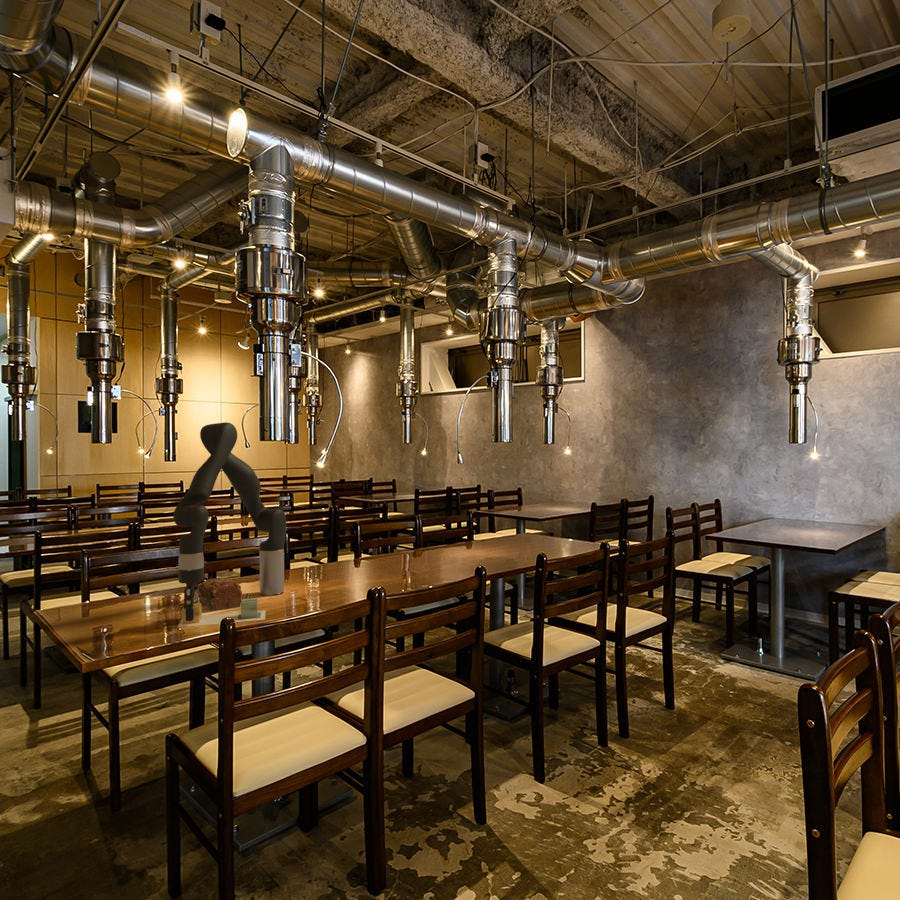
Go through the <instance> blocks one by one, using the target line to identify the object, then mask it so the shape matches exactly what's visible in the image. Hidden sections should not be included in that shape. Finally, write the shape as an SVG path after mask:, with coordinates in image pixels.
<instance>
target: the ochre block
mask: <svg viewBox="0 0 900 900" xmlns="http://www.w3.org/2000/svg"><path fill="white" fill-rule="evenodd" d="M181 614H182V616H181V617H182V618H181V620H182V624H188V623H199V622H200V620H201V616H202V605H201V603H200V602H199V603H198V602H197V604H194V619H193V620H192V621H186V609H184V605H183V606H182V609H181Z"/></svg>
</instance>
